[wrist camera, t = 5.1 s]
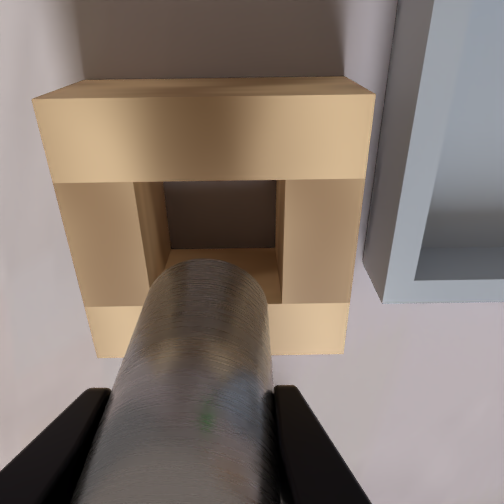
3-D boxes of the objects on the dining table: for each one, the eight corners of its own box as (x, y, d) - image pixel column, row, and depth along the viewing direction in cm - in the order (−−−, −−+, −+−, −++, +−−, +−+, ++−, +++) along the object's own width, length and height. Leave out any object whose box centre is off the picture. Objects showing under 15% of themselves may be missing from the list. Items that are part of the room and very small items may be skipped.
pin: (268, 257, 10) (323, 899, 3) (267, 356, 11) (300, 940, 4) (137, 259, 10) (-167, 910, 3) (154, 358, 11) (-13, 944, 4)
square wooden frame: (344, 76, 14) (375, 94, 11) (325, 291, 19) (343, 353, 15) (83, 80, 14) (31, 98, 11) (125, 294, 19) (97, 357, 15)
